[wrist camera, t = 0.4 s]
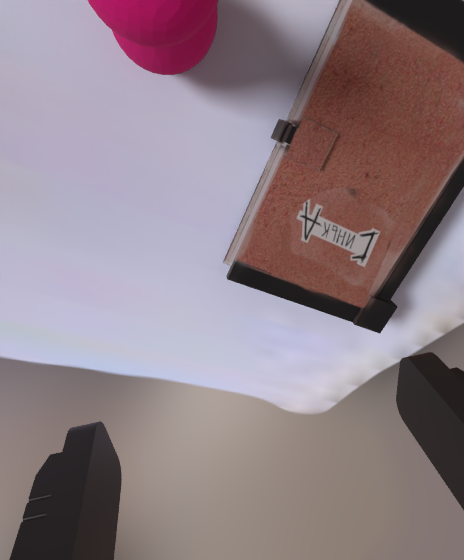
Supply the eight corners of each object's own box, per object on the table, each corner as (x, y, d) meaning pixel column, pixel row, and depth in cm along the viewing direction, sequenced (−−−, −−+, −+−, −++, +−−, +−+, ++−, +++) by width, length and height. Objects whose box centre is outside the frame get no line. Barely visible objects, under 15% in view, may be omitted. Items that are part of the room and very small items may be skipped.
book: (345, -40, 30) (374, -63, 25) (511, 65, 34) (560, 60, 30) (216, 257, 39) (220, 278, 35) (359, 308, 44) (380, 333, 39)
